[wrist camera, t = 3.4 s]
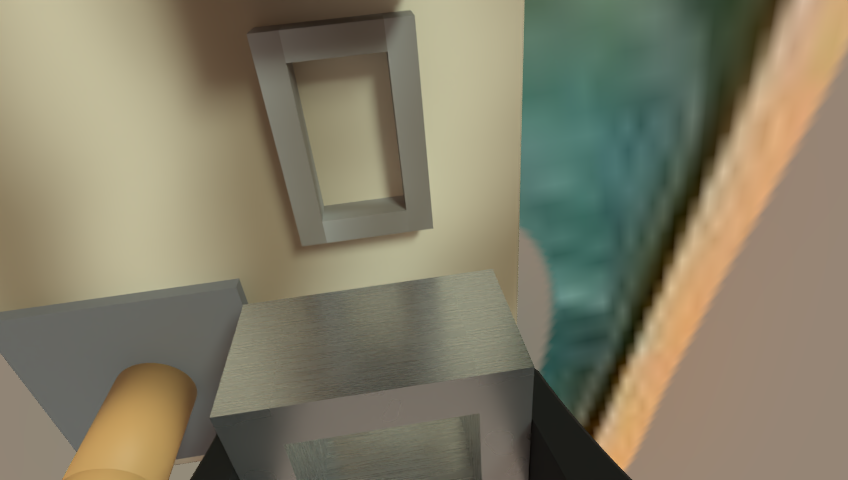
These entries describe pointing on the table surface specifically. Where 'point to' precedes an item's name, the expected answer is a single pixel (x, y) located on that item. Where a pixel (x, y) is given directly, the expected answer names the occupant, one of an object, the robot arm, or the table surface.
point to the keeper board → (256, 145)
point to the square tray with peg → (128, 373)
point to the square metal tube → (379, 385)
